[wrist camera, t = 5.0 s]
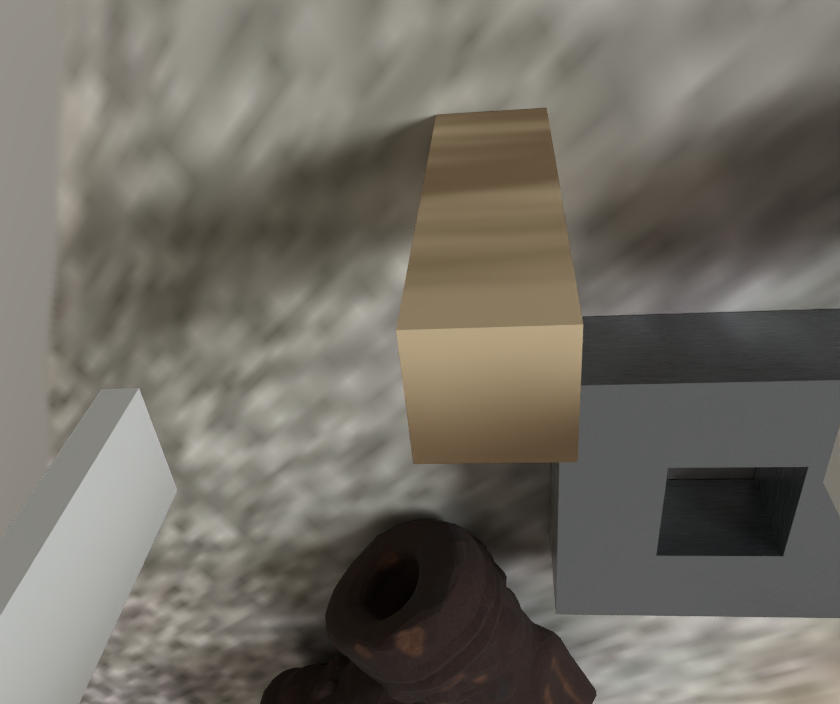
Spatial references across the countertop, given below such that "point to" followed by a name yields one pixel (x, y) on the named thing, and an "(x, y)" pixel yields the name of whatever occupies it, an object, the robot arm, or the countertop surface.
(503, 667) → the pipe
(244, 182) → the countertop surface
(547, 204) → the oak peg
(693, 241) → the countertop surface
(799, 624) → the countertop surface
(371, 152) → the countertop surface
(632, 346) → the socket block
